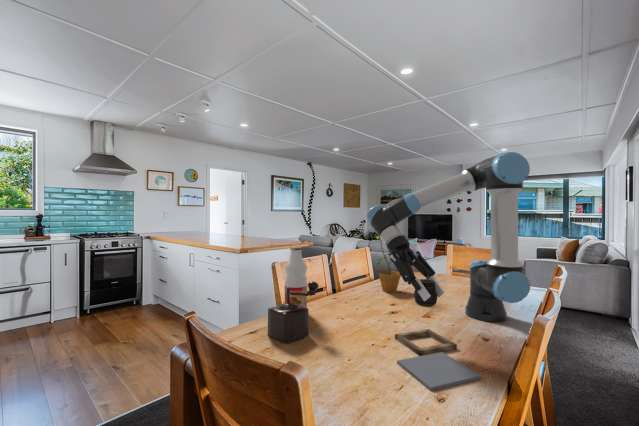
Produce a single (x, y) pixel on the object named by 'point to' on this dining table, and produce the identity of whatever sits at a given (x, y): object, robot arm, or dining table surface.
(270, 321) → the pepper mill
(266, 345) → the dining table surface
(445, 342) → the frame
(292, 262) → the fruit juice
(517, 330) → the dining table surface
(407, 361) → the charcoal mat
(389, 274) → the potted plant
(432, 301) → the mate gourd
